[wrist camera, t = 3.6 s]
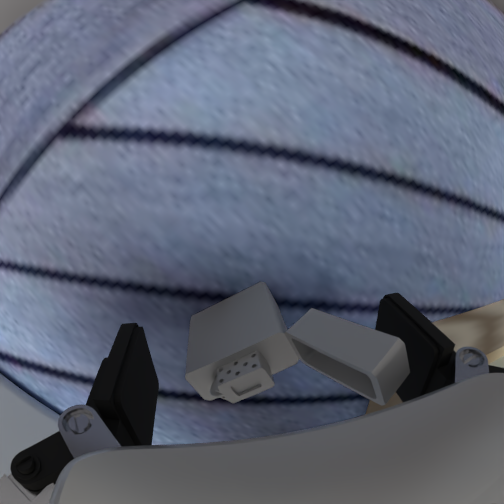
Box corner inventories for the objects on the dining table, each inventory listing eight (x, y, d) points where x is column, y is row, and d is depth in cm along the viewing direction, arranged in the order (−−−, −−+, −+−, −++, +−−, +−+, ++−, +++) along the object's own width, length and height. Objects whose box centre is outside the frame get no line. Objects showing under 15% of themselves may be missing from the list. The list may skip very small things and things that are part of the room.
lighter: (206, 342, 15) (209, 478, 8) (188, 317, 14) (177, 455, 7) (331, 279, 15) (419, 387, 7) (319, 250, 14) (414, 351, 7)
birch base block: (503, 296, 18) (542, 323, 14) (459, 404, 23) (483, 434, 18) (383, 330, 17) (425, 380, 12) (351, 446, 21) (370, 489, 17)
